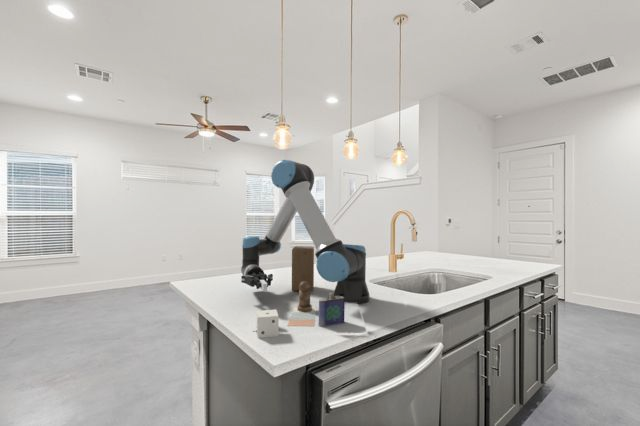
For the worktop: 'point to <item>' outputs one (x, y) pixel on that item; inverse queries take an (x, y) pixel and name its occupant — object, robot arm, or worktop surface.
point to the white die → (267, 323)
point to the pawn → (304, 297)
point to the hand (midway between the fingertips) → (265, 287)
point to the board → (302, 318)
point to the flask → (331, 310)
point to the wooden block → (302, 266)
